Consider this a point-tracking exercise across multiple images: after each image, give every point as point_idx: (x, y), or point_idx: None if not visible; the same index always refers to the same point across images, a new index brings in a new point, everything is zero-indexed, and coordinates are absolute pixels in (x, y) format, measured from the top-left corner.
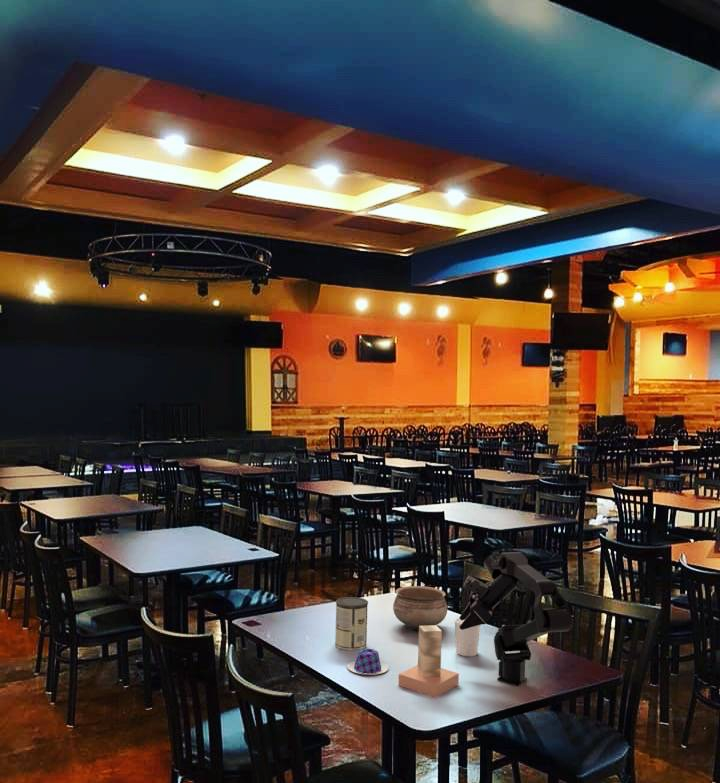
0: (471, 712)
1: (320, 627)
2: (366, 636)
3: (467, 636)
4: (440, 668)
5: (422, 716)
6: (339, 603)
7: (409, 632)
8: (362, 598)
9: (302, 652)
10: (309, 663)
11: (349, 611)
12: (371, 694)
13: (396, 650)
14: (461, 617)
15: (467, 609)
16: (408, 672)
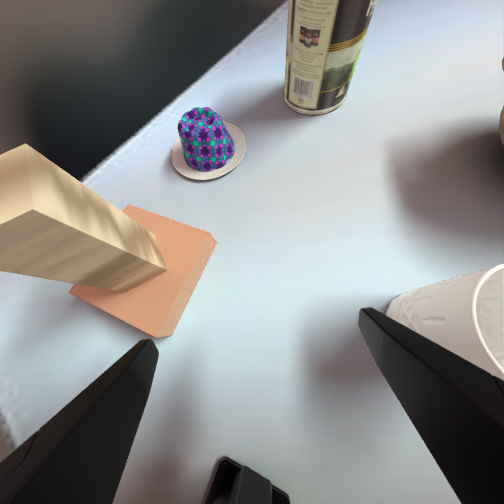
0: (18, 389)
1: (379, 31)
2: (327, 91)
3: (431, 336)
4: (108, 289)
5: (9, 288)
6: None
7: (480, 153)
8: None
9: (245, 59)
10: (203, 81)
11: None
12: (97, 188)
13: (330, 164)
14: (367, 324)
15: (454, 404)
16: (139, 219)
